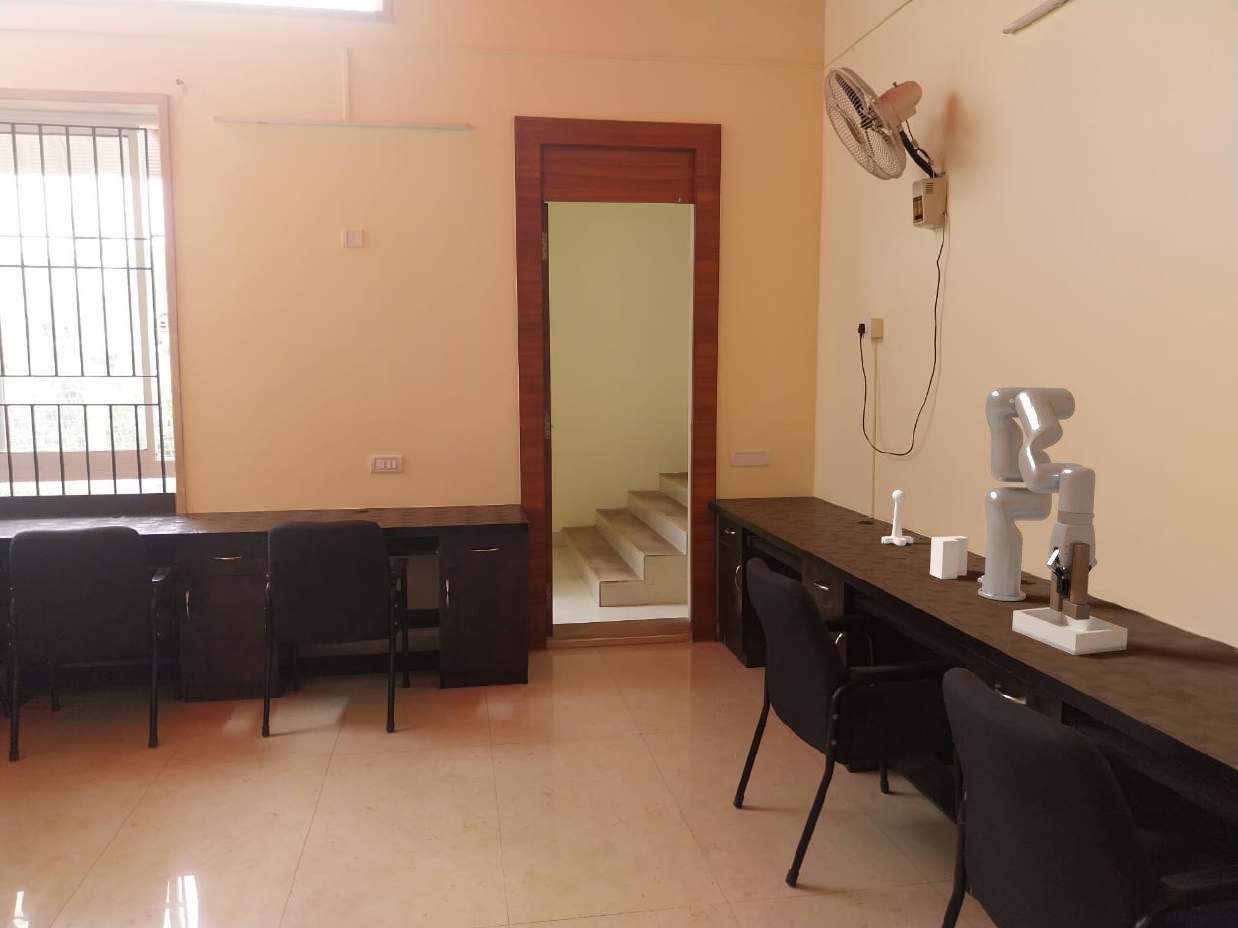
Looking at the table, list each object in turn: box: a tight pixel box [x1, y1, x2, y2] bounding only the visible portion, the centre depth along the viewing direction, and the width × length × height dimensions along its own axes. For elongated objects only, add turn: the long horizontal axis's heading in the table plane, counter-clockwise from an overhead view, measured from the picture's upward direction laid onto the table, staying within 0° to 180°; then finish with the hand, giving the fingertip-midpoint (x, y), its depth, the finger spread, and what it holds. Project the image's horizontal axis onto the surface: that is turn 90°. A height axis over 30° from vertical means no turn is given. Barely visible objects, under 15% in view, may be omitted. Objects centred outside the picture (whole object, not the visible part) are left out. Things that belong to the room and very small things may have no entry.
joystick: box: [881, 489, 914, 547], centre depth 325 cm, size 11×8×20 cm
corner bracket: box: [929, 535, 969, 580], centre depth 279 cm, size 11×11×12 cm
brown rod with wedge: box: [1049, 543, 1091, 620], centre depth 211 cm, size 4×11×18 cm, turn 6°
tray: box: [1011, 606, 1129, 656], centre depth 213 cm, size 20×15×5 cm
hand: (1070, 592), depth 212 cm, fingers closed on brown rod with wedge, 4 cm apart
